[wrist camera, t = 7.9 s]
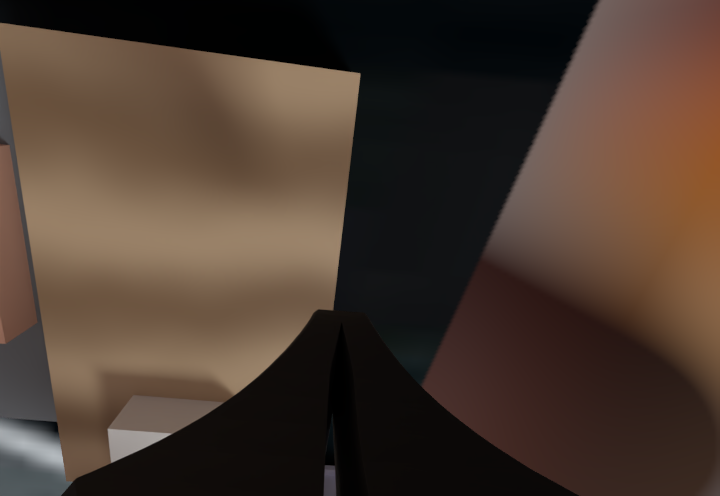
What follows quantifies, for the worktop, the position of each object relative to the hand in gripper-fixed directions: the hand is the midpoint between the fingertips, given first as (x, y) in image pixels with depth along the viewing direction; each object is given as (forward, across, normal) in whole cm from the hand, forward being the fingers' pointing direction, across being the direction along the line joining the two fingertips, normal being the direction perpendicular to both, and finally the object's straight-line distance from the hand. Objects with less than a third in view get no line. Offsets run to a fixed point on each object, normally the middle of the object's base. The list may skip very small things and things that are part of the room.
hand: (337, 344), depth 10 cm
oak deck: (+10, +6, +3) cm, 12 cm away
